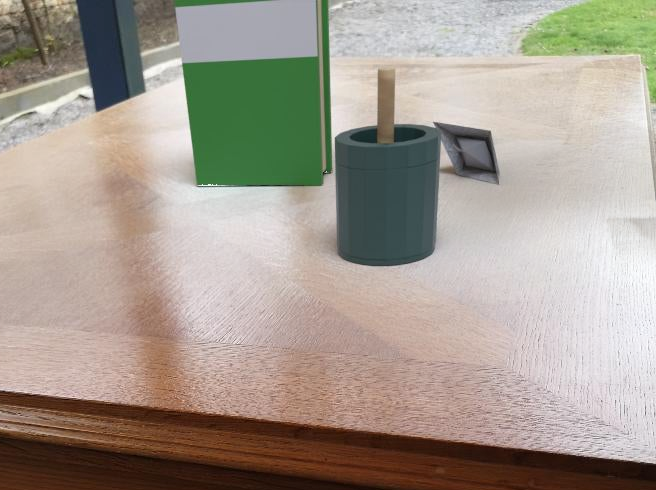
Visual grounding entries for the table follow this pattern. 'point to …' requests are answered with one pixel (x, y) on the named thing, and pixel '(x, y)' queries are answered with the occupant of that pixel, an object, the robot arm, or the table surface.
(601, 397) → the table surface
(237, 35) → the hardback book
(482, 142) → the paper boat
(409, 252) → the cup
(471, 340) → the table surface
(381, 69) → the brush
